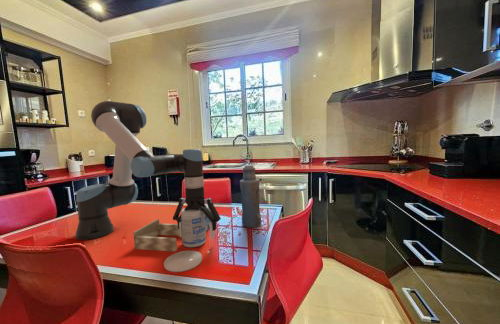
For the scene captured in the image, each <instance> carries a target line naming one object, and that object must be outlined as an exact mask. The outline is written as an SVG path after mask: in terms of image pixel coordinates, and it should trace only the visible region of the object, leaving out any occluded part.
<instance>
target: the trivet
mask: <svg viewBox="0 0 500 324" xmlns="http://www.w3.org/2000/svg"><path fill="white" fill-rule="evenodd" d="M202 260H203V255H202V254H201V252H199V251H196V250H183V251H179V252H175V253H173V254H171V255H169V256H168V257H166V259H164V261H163V267H164V269H165V270H166V271H168V272H171V273H182V272H187V271H190V270H193V269H195V268H197V266H199V265H200V264H201V263H202Z"/></svg>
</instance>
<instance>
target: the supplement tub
mask: <svg viewBox="0 0 500 324" xmlns="http://www.w3.org/2000/svg"><path fill="white" fill-rule="evenodd" d="M185 208H186V207H183V208H182V209H181V212H180V215H181V222H182V237H181V238H182V244H183V246H184V247H186V248H196V247H200V246H202V245H204V244H205V243H206V241H207V239H206V238H207V237H206V232H205V214H204V213H203V212H202V211H201V210H200V209H199V210H196V209H193V210H191V209H189V210H184V209H185Z"/></svg>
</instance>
